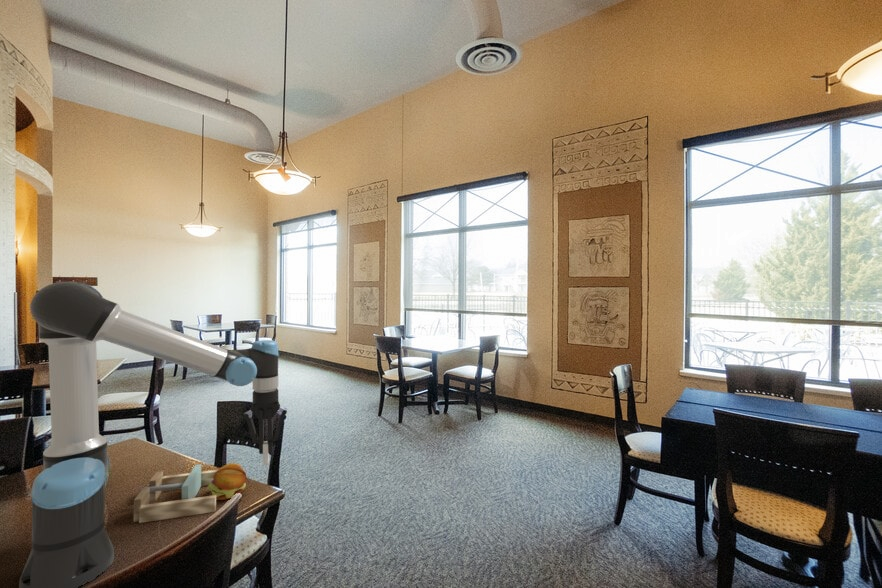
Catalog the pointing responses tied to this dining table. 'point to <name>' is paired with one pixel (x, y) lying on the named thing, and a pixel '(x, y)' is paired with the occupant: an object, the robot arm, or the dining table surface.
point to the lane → (172, 508)
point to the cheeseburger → (228, 481)
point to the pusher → (184, 484)
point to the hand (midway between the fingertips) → (265, 462)
